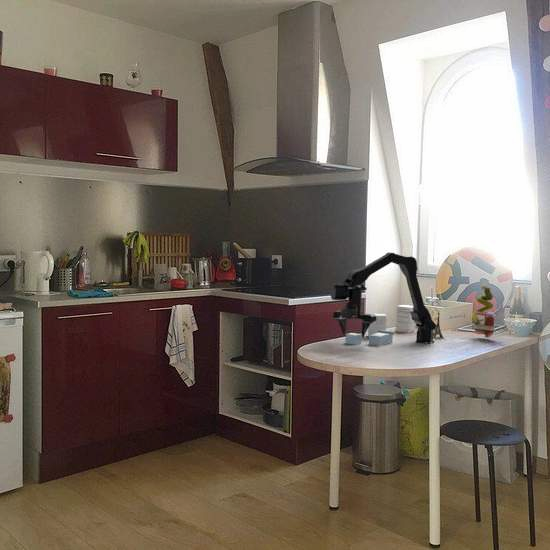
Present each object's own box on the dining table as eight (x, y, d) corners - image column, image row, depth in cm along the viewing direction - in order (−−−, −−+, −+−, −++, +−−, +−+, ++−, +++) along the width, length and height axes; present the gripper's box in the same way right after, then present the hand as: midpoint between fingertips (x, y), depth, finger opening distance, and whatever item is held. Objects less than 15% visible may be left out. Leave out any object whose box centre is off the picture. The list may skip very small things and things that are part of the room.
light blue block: (361, 343, 277) (361, 334, 276) (355, 344, 273) (356, 335, 272) (351, 341, 280) (351, 332, 279) (345, 343, 275) (345, 333, 275)
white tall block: (401, 329, 321) (402, 304, 320) (415, 331, 317) (416, 306, 316) (394, 331, 315) (396, 305, 314) (409, 332, 311) (410, 307, 310)
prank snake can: (465, 336, 304) (468, 284, 303) (482, 336, 308) (485, 284, 306) (482, 341, 294) (485, 287, 292) (499, 340, 298) (502, 287, 296)
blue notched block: (394, 342, 282) (395, 331, 282) (381, 346, 271) (382, 335, 271) (379, 340, 286) (380, 329, 286) (366, 344, 276) (366, 332, 275)
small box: (384, 336, 298) (385, 314, 297) (385, 338, 292) (386, 315, 291) (367, 335, 299) (368, 313, 298) (368, 337, 293) (369, 314, 292)
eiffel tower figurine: (416, 337, 301) (418, 309, 300) (428, 335, 308) (430, 308, 307) (444, 342, 290) (446, 313, 289) (456, 340, 297) (458, 311, 296)
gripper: (326, 299, 274) (325, 335, 275) (365, 303, 263) (363, 341, 264) (339, 297, 283) (338, 332, 284) (377, 301, 272) (376, 337, 273)
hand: (353, 336), depth 276 cm, fingers open, 9 cm apart
